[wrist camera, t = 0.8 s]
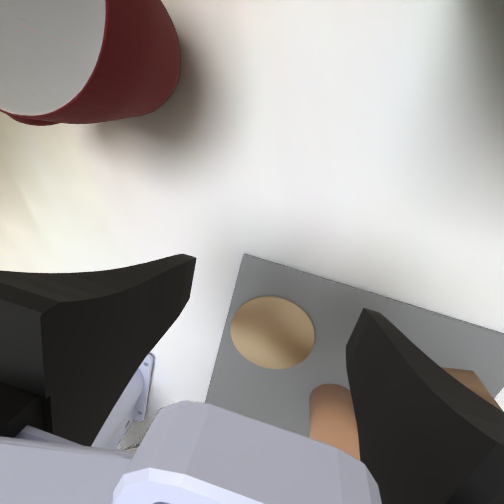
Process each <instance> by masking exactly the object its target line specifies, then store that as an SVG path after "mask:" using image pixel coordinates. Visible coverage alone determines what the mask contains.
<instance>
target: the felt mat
mask: <svg viewBox="0 0 504 504" xmlns="http://www.w3.org/2000/svg"><path fill="white" fill-rule="evenodd" d="M260 296H278V297H282V298H285V299H288V300H290V301H292V302H294V303H295V304H297V305H298V306H300V307H301V308H302V309H303V310H304V311H305V312H306V313H307V315H308V316H309V318H310V320H311V322H312V324H313V327H314V345H313V348H312V350H311V352H310V354H309V355H308V357H307V358H306V359H305V360H303V361H302V362H301V363H299V364H297V365H295V366H293V367H290V368H286V369H268V368H264V367H260V366H258V365H256V364H254V363H252V362H250V361H249V360H247V359H246V358H245V357H243V356H242V355H241V354H240V353H239V351H238V350H237V349H236V347H235V345H234V343H233V341H232V337H231V322H232V319H233V317H234V315H235V313H236V311H237V310H238V309H239V307H240V306H241V305H242V304H244V303H245V302H247V301H249V300H250V299H253V298H256V297H260ZM363 308H367V309H370V310H373V311H377V312H379V313H381V314H382V315H383V316H384V317H386V318H387V319H388V320H389V321H390V322H391V323H392V324H393V325H394V326H396V327H397V328H398V329H399V330H400V331H401V332H402V333H403V334H404V335H405V336H406V337H407V338H408V339H409V340H410V341H411V342H412V343H414V344H415V345H416V346H417V347H418V348H419V349H420V350H421V351H422V352H424V353H425V354H426V355H427V356H428V357H429V358H430V359H432V360H433V361H434V362H435V363H436V364H437V365H439V366H440V367H444V368H453V369H462V370H471V371H474V373H475V374H476V375H477V377H478V378H479V379H480V381H481V382H482V383H483V385H484V386H485V388H486V389H487V390H488V392H489V393H490V394H491V396H492V397H493V398H495V397H496V395H497V394H498V393H499V392H500V390H501V389H502V388H503V387H504V333H500V332H497V331H494V330H491V329H487V328H484V327H481V326H478V325H474V324H471V323H468V322H465V321H461V320H458V319H455V318H452V317H448V316H445V315H442V314H439V313H435V312H432V311H429V310H426V309H423V308H419V307H416V306H413V305H410V304H406V303H403V302H400V301H397V300H393V299H390V298H387V297H384V296H380V295H377V294H374V293H371V292H367V291H364V290H361V289H358V288H354V287H351V286H348V285H345V284H341V283H338V282H335V281H332V280H328V279H325V278H322V277H319V276H315V275H312V274H309V273H306V272H302V271H299V270H296V269H293V268H290V267H286V266H283V265H280V264H277V263H273V262H270V261H267V260H264V259H260V258H257V257H254V256H251V255H247V254H244V255H243V258H242V262H241V266H240V270H239V274H238V278H237V282H236V285H235V289H234V293H233V297H232V301H231V305H230V308H229V312H228V316H227V320H226V324H225V328H224V331H223V335H222V339H221V343H220V347H219V351H218V354H217V358H216V362H215V366H214V370H213V374H212V378H211V381H210V385H209V389H208V393H207V397H206V401H205V403H207V404H212V405H215V406H218V407H221V408H224V409H227V410H230V411H233V412H236V413H239V414H242V415H245V416H248V417H250V418H253V419H256V420H259V421H262V422H265V423H268V424H271V425H274V426H277V427H280V428H283V429H285V430H288V431H291V432H294V433H297V434H300V435H303V436H306V437H309V438H310V435H309V396H310V394H311V392H312V391H313V389H315V388H316V387H318V386H320V385H323V384H337V385H341V386H343V387H345V388H347V389H348V390H349V391H350V387H349V381H348V376H347V370H346V345H347V342H348V340H349V338H350V336H351V334H352V332H353V329H354V327H355V325H356V323H357V321H358V318H359V316H360V314H361V312H362V310H363Z"/></svg>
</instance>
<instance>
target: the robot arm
mask: <svg viewBox="0 0 504 504" xmlns="http://www.w3.org/2000/svg"><path fill="white" fill-rule="evenodd" d="M195 263H196V258H195V257H192V256H189V255H185V254H179V255H174V256H170V257H166V258H163V259H159V260H155V261H151V262H147V263H143V264H138V265H134V266H129V267H124V268H118V269H112V270H104V271H95V272H79V273H25V272H11V271H0V504H504V412H503V411H501V410H500V409H498V408H497V407H495V406H494V405H492V404H491V403H489V402H488V401H486V400H485V399H483V398H482V397H480V396H479V395H477V394H476V393H474V392H473V391H472V390H470V389H469V388H467V387H466V386H465V385H463V384H462V383H461V382H459V381H458V380H457V379H455V378H454V377H453V376H451V375H450V374H449V373H447V372H446V371H445V370H444V369H442V368H441V367H440V366H439V365H437V364H436V363H435V362H434V361H433V360H432V359H430V358H429V357H428V356H427V355H426V354H425V353H424V352H422V351H421V350H420V349H419V348H418V347H417V346H416V345H415V344H414V343H412V342H411V341H410V340H409V339H408V338H407V337H406V336H405V335H404V334H403V333H402V332H401V331H400V330H399V329H398V328H397V327H396V326H394V325H393V324H392V323H391V322H390V321H389V320H388V319H387V318H386V317H384V316H383V315H382V314H381V313H379V312H377V311H373V310H370V309H367V308H363V310H362V312H361V314H360V316H359V318H358V321H357V323H356V325H355V327H354V329H353V332H352V334H351V336H350V338H349V340H348V342H347V345H346V370H347V376H348V381H349V387H350V392H351V397H352V402H353V407H354V413H355V418H356V423H357V430H358V439H359V451H360V461H359V460H358V459H356V458H354V457H352V456H351V455H349V454H347V453H345V452H344V451H342V450H340V449H338V448H337V447H335V446H332V445H329V444H326V443H323V442H321V441H318V440H315V439H312V438H309V437H306V436H303V435H300V434H297V433H294V432H291V431H288V430H285V429H283V428H280V427H277V426H274V425H271V424H268V423H265V422H262V421H259V420H256V419H253V418H250V417H248V416H245V415H242V414H239V413H236V412H233V411H230V410H227V409H224V408H221V407H218V406H215V405H212V404H207V403H199V402H192V401H181V402H178V403H175V404H172V405H169V406H167V407H164V408H161V409H160V410H159V412H158V413H157V415H156V417H155V419H154V420H153V422H152V424H151V425H150V427H149V429H148V431H147V432H146V434H145V436H144V438H143V440H142V441H141V443H140V445H139V447H138V448H137V450H136V452H133V451H124V450H115V448H116V447H117V445H118V443H119V442H120V440H121V439H122V437H123V436H124V434H125V432H126V431H127V429H128V428H129V426H130V425H131V423H132V421H133V420H135V421H137V422H142V421H143V420H144V418H145V412H146V406H147V399H148V392H149V385H150V378H151V372H152V365H153V357H152V356H151V355H150V354H149V352H150V351H151V350H152V349H153V348H154V346H155V345H156V344H157V343H158V341H159V340H160V339H161V338H162V336H163V335H164V334H165V333H166V332H167V330H168V329H169V328H170V327H171V325H172V324H173V323H174V322H175V320H176V319H177V318H178V316H179V315H180V313H181V312H182V310H183V309H184V307H185V305H186V303H187V302H188V300H189V298H190V292H191V286H192V281H193V275H194V269H195Z"/></svg>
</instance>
